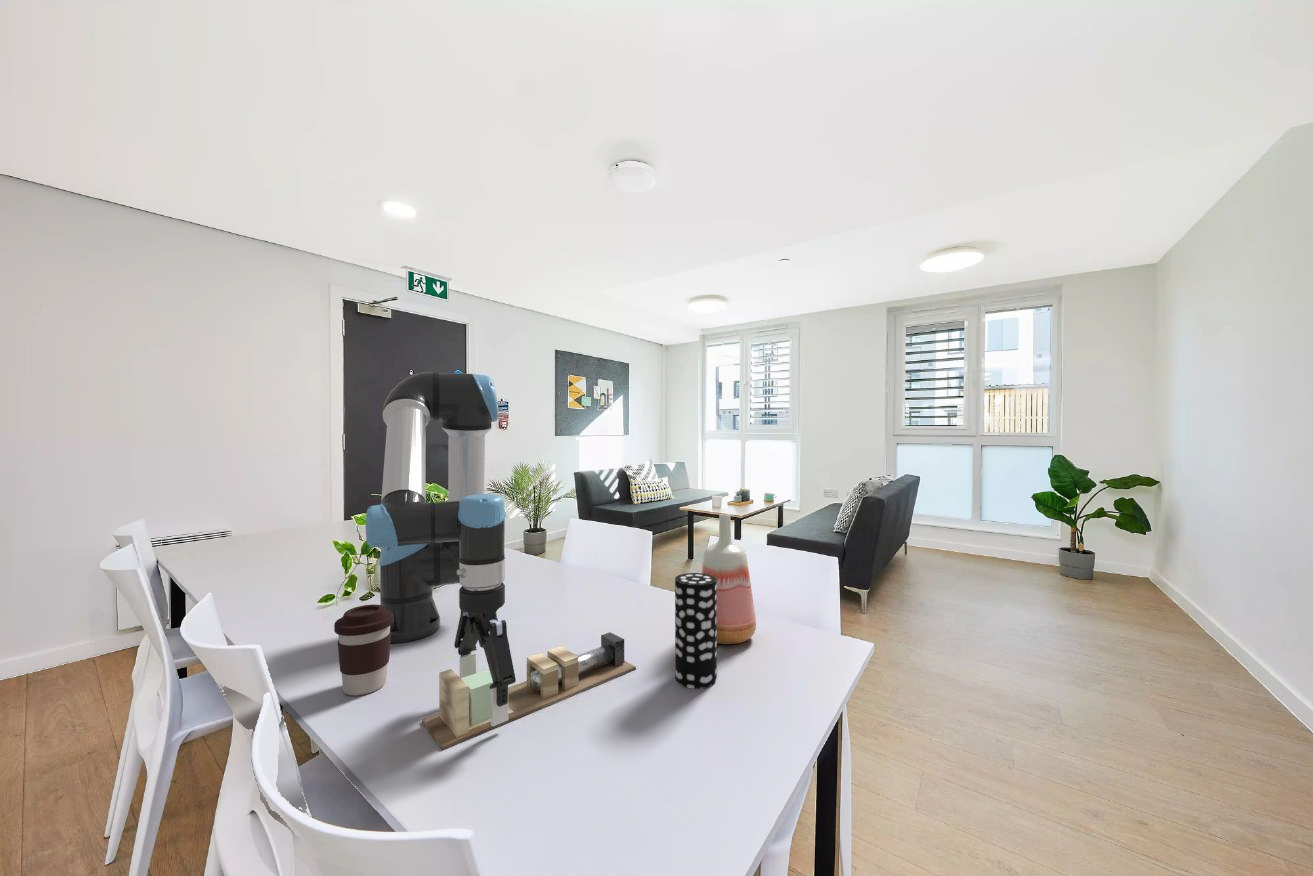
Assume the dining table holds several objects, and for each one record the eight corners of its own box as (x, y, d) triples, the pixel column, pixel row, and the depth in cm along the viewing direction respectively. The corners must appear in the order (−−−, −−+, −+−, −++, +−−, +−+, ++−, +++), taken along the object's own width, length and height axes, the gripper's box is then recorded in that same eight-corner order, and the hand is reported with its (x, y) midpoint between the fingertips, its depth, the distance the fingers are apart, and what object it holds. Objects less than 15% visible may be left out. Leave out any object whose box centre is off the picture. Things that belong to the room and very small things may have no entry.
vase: (687, 644, 114) (687, 517, 114) (705, 622, 128) (705, 508, 128) (749, 654, 109) (749, 521, 109) (761, 630, 122) (760, 511, 122)
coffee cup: (367, 703, 89) (366, 621, 89) (321, 697, 91) (321, 617, 91) (405, 677, 99) (405, 603, 99) (363, 672, 101) (362, 599, 101)
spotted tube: (720, 671, 101) (720, 575, 101) (711, 691, 93) (711, 586, 93) (681, 665, 104) (681, 571, 103) (669, 684, 96) (669, 582, 96)
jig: (422, 722, 83) (421, 675, 83) (607, 653, 110) (607, 617, 110) (442, 750, 76) (442, 698, 76) (635, 669, 102) (635, 630, 102)
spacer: (460, 712, 85) (460, 678, 85) (493, 700, 89) (493, 667, 89) (471, 725, 81) (471, 689, 81) (505, 711, 85) (505, 677, 85)
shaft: (528, 685, 94) (528, 659, 94) (610, 655, 107) (610, 632, 107) (541, 695, 90) (541, 668, 90) (624, 662, 103) (624, 639, 103)
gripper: (435, 573, 92) (436, 685, 92) (491, 608, 74) (492, 748, 74) (475, 565, 97) (475, 672, 97) (536, 597, 79) (537, 728, 79)
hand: (482, 705), depth 86 cm, fingers open, 13 cm apart
